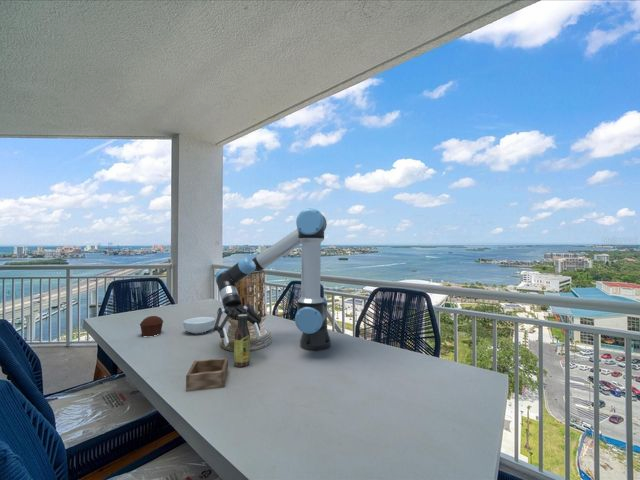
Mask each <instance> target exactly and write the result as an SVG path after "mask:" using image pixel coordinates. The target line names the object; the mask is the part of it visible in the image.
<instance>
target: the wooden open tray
mask: <svg viewBox="0 0 640 480" xmlns="http://www.w3.org/2000/svg"><path fill="white" fill-rule="evenodd" d="M228 372H229V358H228V357H224V358H214V359H213V358H211V359H200V360H199V359H198V360H194V361H193V363H192V365H191V366H190V368H189V369H188V372H187V373H186V376H185V381H186V382H185V391H186V392H189V391H190V392H191V391H200V390H208V389H210V390H211V389H217V388H225V385H226V381H227V377H228Z"/></svg>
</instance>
